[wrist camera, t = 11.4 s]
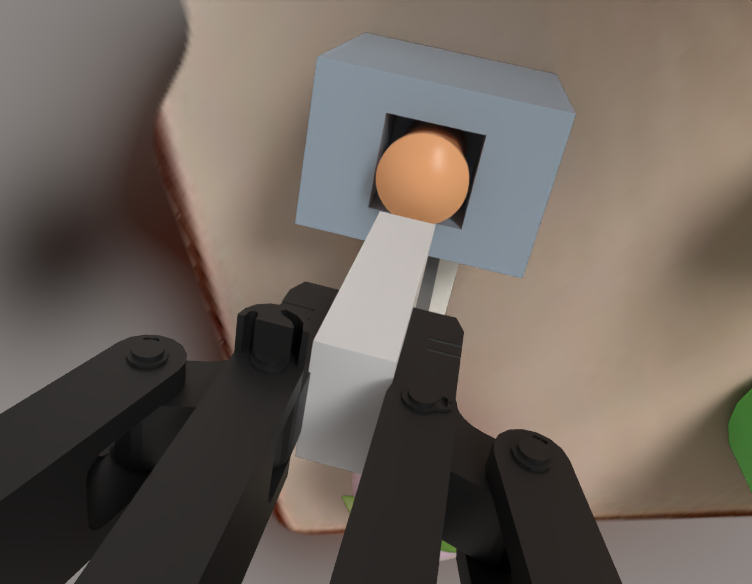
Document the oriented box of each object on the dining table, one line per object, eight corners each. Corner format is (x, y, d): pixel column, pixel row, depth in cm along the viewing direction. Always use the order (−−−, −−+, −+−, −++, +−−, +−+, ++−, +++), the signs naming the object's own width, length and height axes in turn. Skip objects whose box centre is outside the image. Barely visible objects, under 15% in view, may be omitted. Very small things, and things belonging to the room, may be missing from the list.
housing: (365, 32, 34) (317, 56, 25) (556, 74, 33) (576, 113, 24) (344, 162, 37) (295, 223, 28) (517, 202, 36) (522, 278, 28)
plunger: (403, 100, 29) (385, 125, 24) (482, 118, 29) (479, 147, 24) (387, 178, 31) (368, 213, 26) (463, 195, 30) (456, 234, 26)
